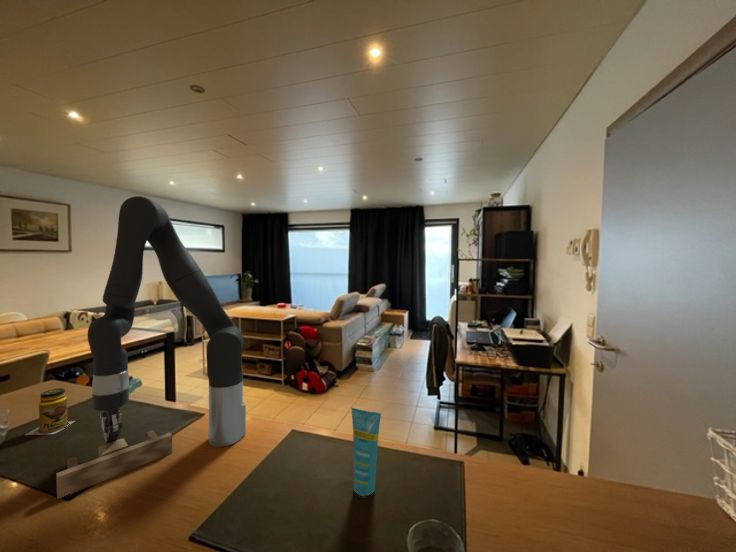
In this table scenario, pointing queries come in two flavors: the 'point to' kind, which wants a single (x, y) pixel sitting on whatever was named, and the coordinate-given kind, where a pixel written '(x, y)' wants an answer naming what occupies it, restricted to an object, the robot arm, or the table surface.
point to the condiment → (52, 412)
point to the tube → (365, 449)
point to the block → (112, 447)
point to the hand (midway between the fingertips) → (111, 451)
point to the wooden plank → (111, 464)
